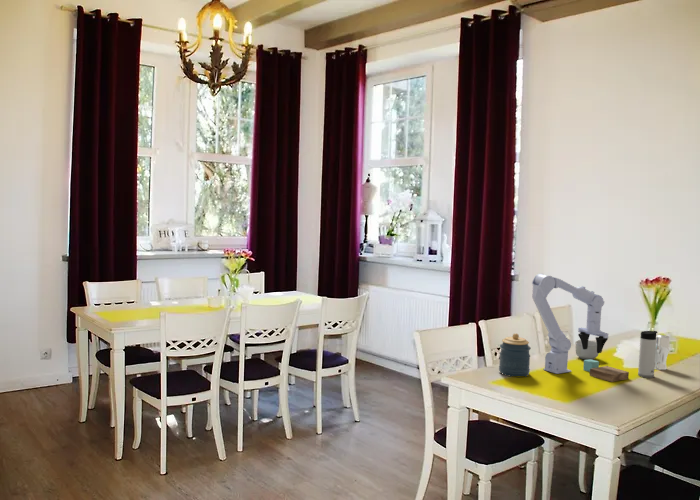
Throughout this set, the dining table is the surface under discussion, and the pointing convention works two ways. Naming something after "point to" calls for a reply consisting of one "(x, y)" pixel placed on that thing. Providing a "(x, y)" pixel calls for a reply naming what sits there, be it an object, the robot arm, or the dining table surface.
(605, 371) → the walnut base
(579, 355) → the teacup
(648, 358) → the travel mug
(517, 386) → the dining table surface
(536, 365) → the dining table surface
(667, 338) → the beer glass
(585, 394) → the dining table surface
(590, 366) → the teal cube
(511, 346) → the canister
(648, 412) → the dining table surface
